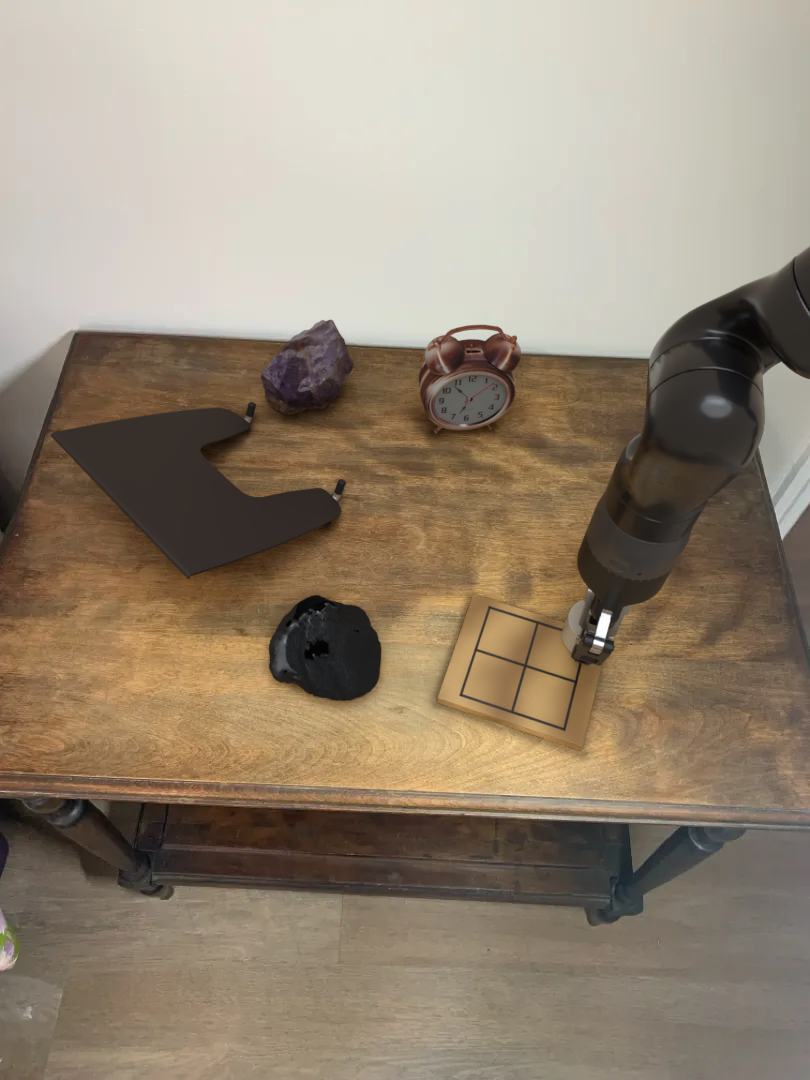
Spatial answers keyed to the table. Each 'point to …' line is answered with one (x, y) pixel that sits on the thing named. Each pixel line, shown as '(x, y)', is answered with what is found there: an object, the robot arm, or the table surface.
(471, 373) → the alarm clock
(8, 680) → the table surface
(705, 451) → the robot arm
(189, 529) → the laptop tray
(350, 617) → the rock
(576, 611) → the stone
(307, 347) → the rock
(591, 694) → the board
